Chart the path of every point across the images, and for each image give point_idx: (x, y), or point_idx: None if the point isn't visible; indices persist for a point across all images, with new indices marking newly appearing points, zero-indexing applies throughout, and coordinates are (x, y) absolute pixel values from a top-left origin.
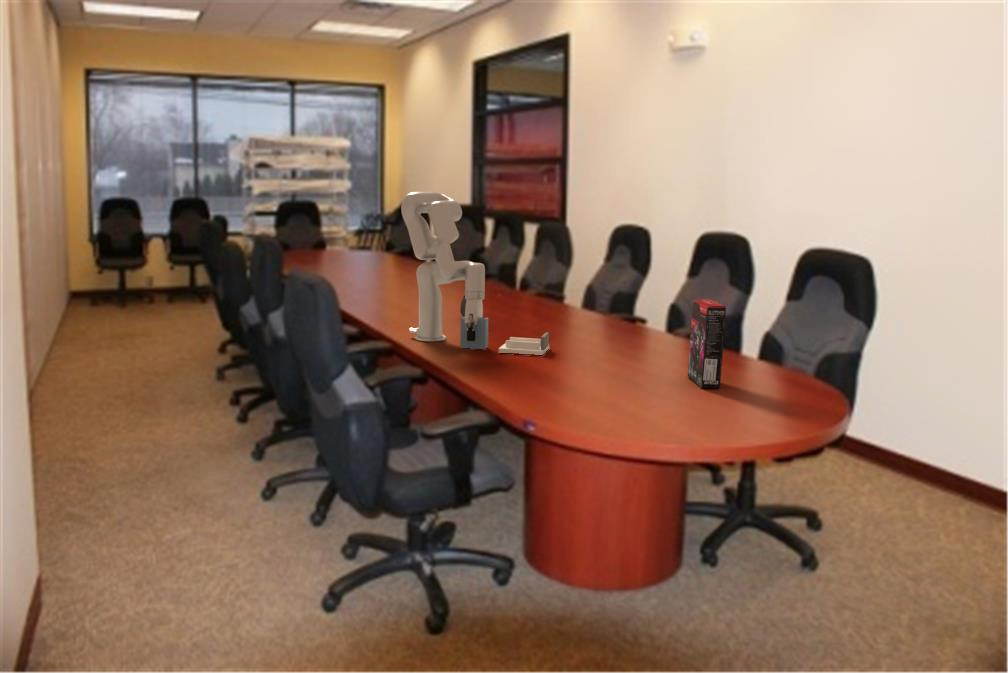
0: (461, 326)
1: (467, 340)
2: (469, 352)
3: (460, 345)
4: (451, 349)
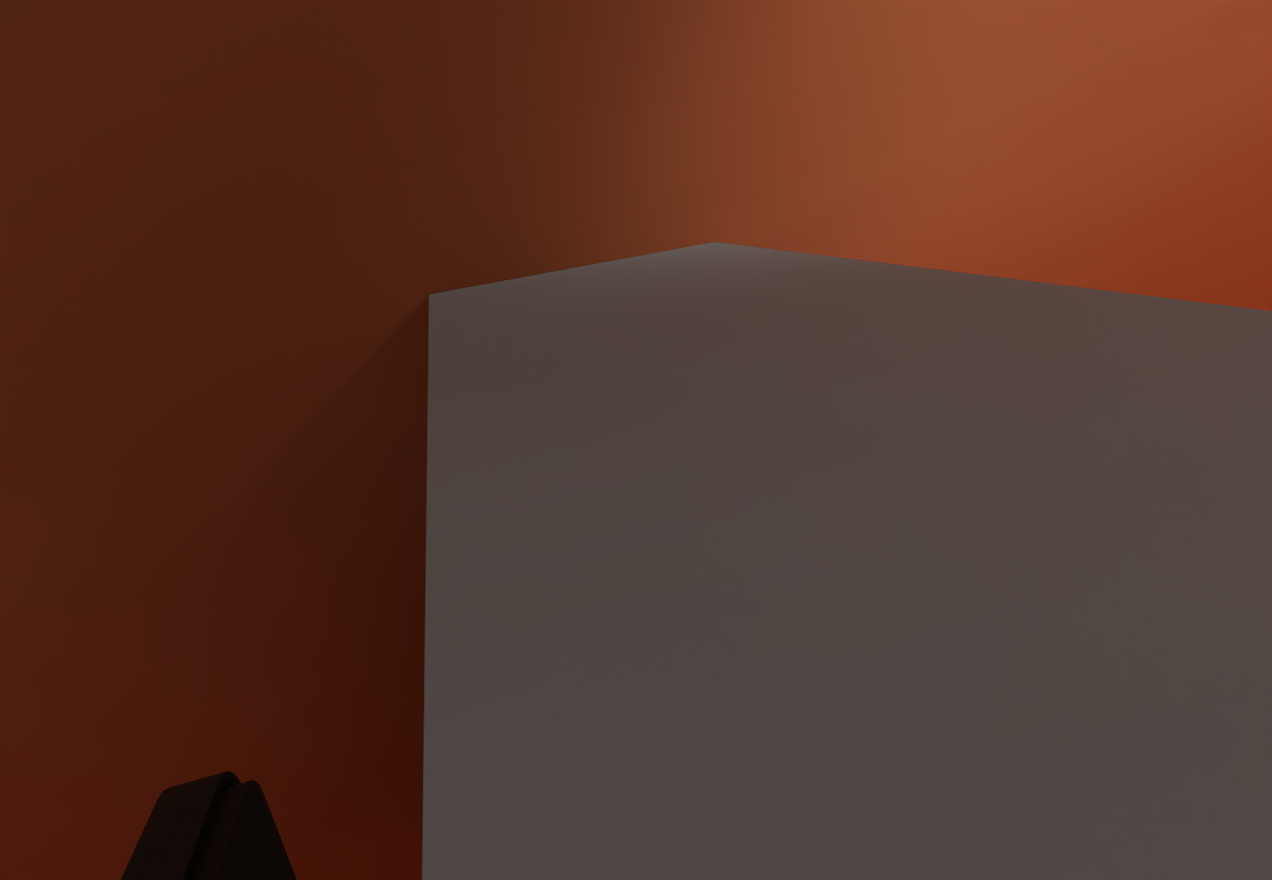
0: (466, 713)
1: (181, 798)
2: (58, 766)
3: (430, 304)
4: (114, 97)
